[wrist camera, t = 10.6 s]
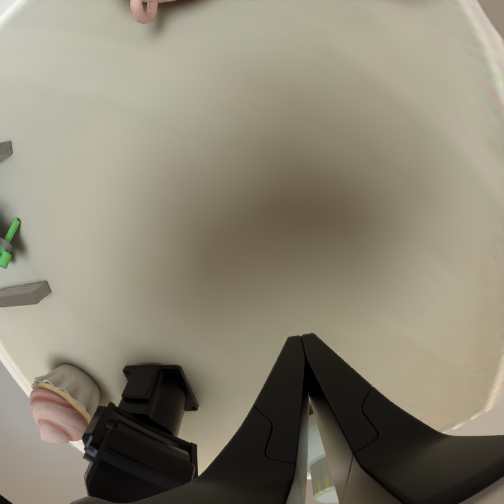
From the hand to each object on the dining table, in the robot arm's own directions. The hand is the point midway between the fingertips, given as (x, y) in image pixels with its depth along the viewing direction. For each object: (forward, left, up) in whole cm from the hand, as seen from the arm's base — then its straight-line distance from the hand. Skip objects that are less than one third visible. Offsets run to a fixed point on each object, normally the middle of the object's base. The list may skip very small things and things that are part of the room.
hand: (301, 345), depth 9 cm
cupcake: (-14, +26, -12) cm, 32 cm away
